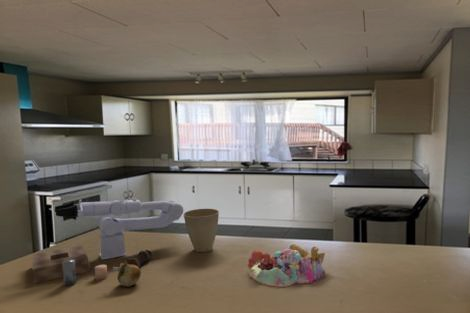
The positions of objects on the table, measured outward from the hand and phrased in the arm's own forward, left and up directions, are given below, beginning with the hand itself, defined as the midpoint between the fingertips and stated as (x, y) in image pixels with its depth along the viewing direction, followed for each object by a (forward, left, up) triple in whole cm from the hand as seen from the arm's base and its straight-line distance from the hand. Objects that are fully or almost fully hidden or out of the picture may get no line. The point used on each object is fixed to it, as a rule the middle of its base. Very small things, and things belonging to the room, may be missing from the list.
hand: (55, 211), depth 139 cm
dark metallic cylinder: (-2, +21, -22) cm, 30 cm away
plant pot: (-54, +16, -22) cm, 60 cm away
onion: (-19, +34, -22) cm, 45 cm away
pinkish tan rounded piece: (-12, +22, -22) cm, 33 cm away
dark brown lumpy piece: (-27, +18, -22) cm, 39 cm away
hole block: (0, +4, -22) cm, 22 cm away
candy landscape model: (-68, +56, -22) cm, 91 cm away
